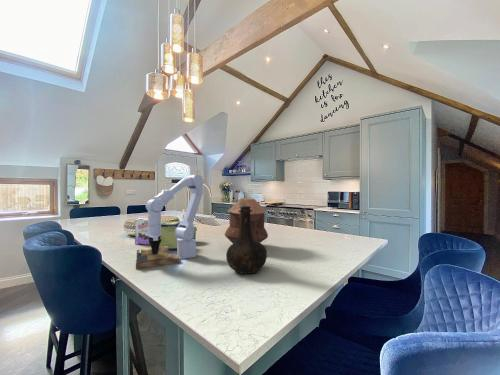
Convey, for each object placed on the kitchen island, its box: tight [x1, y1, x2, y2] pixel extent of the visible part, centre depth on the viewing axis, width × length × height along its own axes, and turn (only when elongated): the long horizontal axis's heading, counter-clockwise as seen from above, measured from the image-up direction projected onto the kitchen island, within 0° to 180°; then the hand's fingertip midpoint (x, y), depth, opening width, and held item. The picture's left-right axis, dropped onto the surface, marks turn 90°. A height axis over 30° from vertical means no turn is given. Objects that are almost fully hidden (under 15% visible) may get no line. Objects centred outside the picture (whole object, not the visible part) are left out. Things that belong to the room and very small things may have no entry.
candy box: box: [134, 217, 151, 246], centre depth 154 cm, size 14×6×16 cm, turn 80°
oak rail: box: [140, 246, 169, 261], centre depth 112 cm, size 12×4×5 cm, turn 115°
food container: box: [192, 225, 198, 240], centre depth 155 cm, size 12×6×10 cm, turn 168°
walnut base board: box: [135, 253, 180, 270], centre depth 112 cm, size 19×7×2 cm, turn 115°
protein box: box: [159, 221, 181, 252], centre depth 141 cm, size 10×16×16 cm
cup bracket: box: [136, 249, 147, 263], centre depth 109 cm, size 4×6×4 cm
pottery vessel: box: [224, 197, 269, 244], centre depth 139 cm, size 26×26×30 cm
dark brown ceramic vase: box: [225, 206, 268, 274], centre depth 103 cm, size 18×18×28 cm
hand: (154, 252), depth 112 cm, fingers open, 4 cm apart
